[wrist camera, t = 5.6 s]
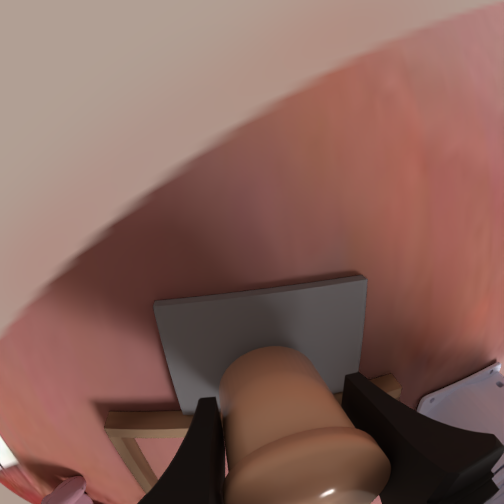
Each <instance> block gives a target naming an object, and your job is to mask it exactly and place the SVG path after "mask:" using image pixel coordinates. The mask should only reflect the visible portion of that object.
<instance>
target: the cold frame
mask: <svg viewBox="0 0 504 504" xmlns="http://www.w3.org/2000/svg"><path fill="white" fill-rule="evenodd" d="M370 381H371V382H372V383H374V384H375V385H376V386H378V387H379V388H380V389H382V390H383V391H385V392H386V393H387V394H389V395H390V396H392V397H393V398H395V399H396V400H398V401H399V397H400V394H401V390H402V387H401V385H400V384H399V383H398V381H397V380H396V379H395V378H394V376H393V375H392V374H388V375H385V376H381V377H378V378H374V379H371V380H370ZM333 395H334V397H335V398H336V400H337V401H338V403H339V404H340V406H341V402H342V395H343V392H338V393H334V394H333ZM219 414H220V418H221V422H222V417H221V412H219ZM193 416H194V414H193V415H183V413H182V410H180V411H153V412H116V411H109V414H108V417H107V420H106V423H105V426H104V429H105V431H106V433H107V435H108V436H109V438H110V440H111V441H112V443H113V445H114V446H115V448H116V450H117V451H118V453H119V455H120V456H121V458H122V459H123V461H124V462H125V464H126V465H127V467H128V468H129V470H130V471H131V473H132V474H133V476H134V477H135V479H136V480H137V482H138V483H139V484H140V486H141V487H142V489H143V490H144V491H145V493H146V494H147V493H148V492H149V491H150V490H151V489H152V487H153V486H154V485H155V484H156V483H157V481H158V479H157V477H156V476H155V474H154V472H153V471H152V469H151V467H150V466H149V464H148V462H147V461H146V459H145V457H144V455H143V454H142V452H141V450H140V448H139V446H138V444H137V443H136V441H135V439H134V438H181V437H185V435H186V433H187V431H188V429H189V426H190V424H191V421H192V419H193ZM222 427H223V425H222ZM223 434H224V433H223ZM370 504H371V503H370Z"/></svg>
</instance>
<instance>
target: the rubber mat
mask: <svg viewBox="0 0 504 504" xmlns="http://www.w3.org/2000/svg"><path fill="white" fill-rule="evenodd" d="M367 281H368V279H367V278H366V277H364V276H363V275H358V276H351V277H345V278H338V279H331V280H325V281H318V282H311V283H303V284H296V285H289V286H281V287H274V288H266V289H258V290H250V291H242V292H233V293H225V294H216V295H207V296H198V297H188V298H179V299H169V300H158V301H155V302H154V305H153V309H154V313H155V318H156V322H157V326H158V330H159V334H160V338H161V342H162V345H163V349H164V353H165V357H166V360H167V364H168V367H169V371H170V374H171V378H172V381H173V384H174V388H175V391H176V394H177V397H178V401H179V404H180V407H181V410H182V413H183V415H193V414H194V413H195V410H196V407H197V403H198V400H199V399H200V398H205V397H216V400H217V405H218V409H219V412H221V408H220V399H219V385H220V381H221V378H222V376H223V374H224V373H225V371H226V369H227V368H228V367H229V366H230V365H231V364H232V363H233V362H234V361H235V360H236V359H238V358H239V357H240V356H242V355H244V354H246V353H248V352H250V351H252V350H255V349H258V348H263V347H269V346H282V347H288V348H292V349H295V350H297V351H299V352H301V353H302V354H304V355H305V356H306V357H308V359H309V360H310V361H311V362H312V364H313V365H314V367H315V368H316V370H317V371H318V373H319V374H320V376H321V377H322V379H323V380H324V382H325V383H326V385H327V386H328V388H329V389H330V391H331V392H332V394H334V393H338V392H343V387H344V379H345V375H348V374H352V373H356V372H358V371H359V363H360V356H361V348H362V339H363V330H364V320H365V308H366V296H367Z"/></svg>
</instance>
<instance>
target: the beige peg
mask: <svg viewBox="0 0 504 504" xmlns="http://www.w3.org/2000/svg"><path fill="white" fill-rule="evenodd" d="M219 399H220V408H221V417H222V425H223V433H224V441H225V449H226V456H227V463H228V471H229V473H228V474H227V476H226V478H225V480H224V483H223V487H222V493H223V501H224V504H370V503H371V502H372V501H373V500H374V499H375V498H376V497H377V496H378V495H379V494H380V493H381V491H382V490H383V489H384V487H385V486H386V484H387V482H388V480H389V477H390V474H391V464H390V461H389V459H388V458H387V456H386V455H385V453H384V452H383V451H382V449H381V448H380V447H379V445H378V444H377V442H376V441H375V440H374V438H373V437H372V436H371V435H369V434H368V433H366V432H364V431H362V430H359V429H356V428H355V427H354V425H353V424H352V422H351V421H350V419H349V418H348V416H347V415H346V413H345V412H344V410H343V409H342V407H341V406H340V404H339V403H338V401H337V400H336V398H335V397H334V395H333V394H332V392H331V391H330V389H329V388H328V386H327V385H326V383H325V382H324V380H323V379H322V377H321V376H320V374H319V373H318V371H317V370H316V368H315V367H314V365H313V364H312V362H311V361H310V360H309V359H308V357H306V356H305V355H304V354H302V353H301V352H299V351H297V350H295V349H292V348H288V347H282V346H269V347H263V348H258V349H255V350H252V351H250V352H248V353H246V354H244V355H242V356H240V357H239V358H238V359H236V360H235V361H234V362H233V363H232V364H231V365H230V366H229V367H228V368H227V369H226V371H225V373H224V374H223V376H222V378H221V381H220V385H219Z"/></svg>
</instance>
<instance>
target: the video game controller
mask: <svg viewBox="0 0 504 504" xmlns="http://www.w3.org/2000/svg"><path fill="white" fill-rule="evenodd" d="M85 489H86V480H85V479H84V478H83V477H82V476H74V477H71V478H68V479H66V480H65V481H63V482H62V483H61V484H60V485H58V486H57V487H56V489H55V490H54V491H53V492H52V493H51V494H49V495H47V496H45V497H44V498H43V500H42V502H41V504H93V502H92V500H91V498H90V497H89V496H88V495H86V494H85V493H84V491H85Z"/></svg>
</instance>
